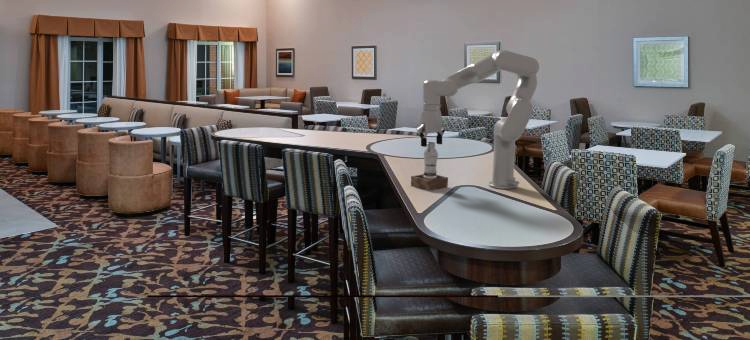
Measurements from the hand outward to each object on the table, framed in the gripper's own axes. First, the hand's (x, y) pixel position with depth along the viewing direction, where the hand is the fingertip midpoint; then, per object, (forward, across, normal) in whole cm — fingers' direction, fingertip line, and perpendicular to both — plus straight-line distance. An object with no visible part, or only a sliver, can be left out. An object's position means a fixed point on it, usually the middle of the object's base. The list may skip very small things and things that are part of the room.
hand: (431, 145), depth 262 cm
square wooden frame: (+19, +1, -1) cm, 19 cm away
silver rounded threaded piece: (+19, +1, 0) cm, 19 cm away
